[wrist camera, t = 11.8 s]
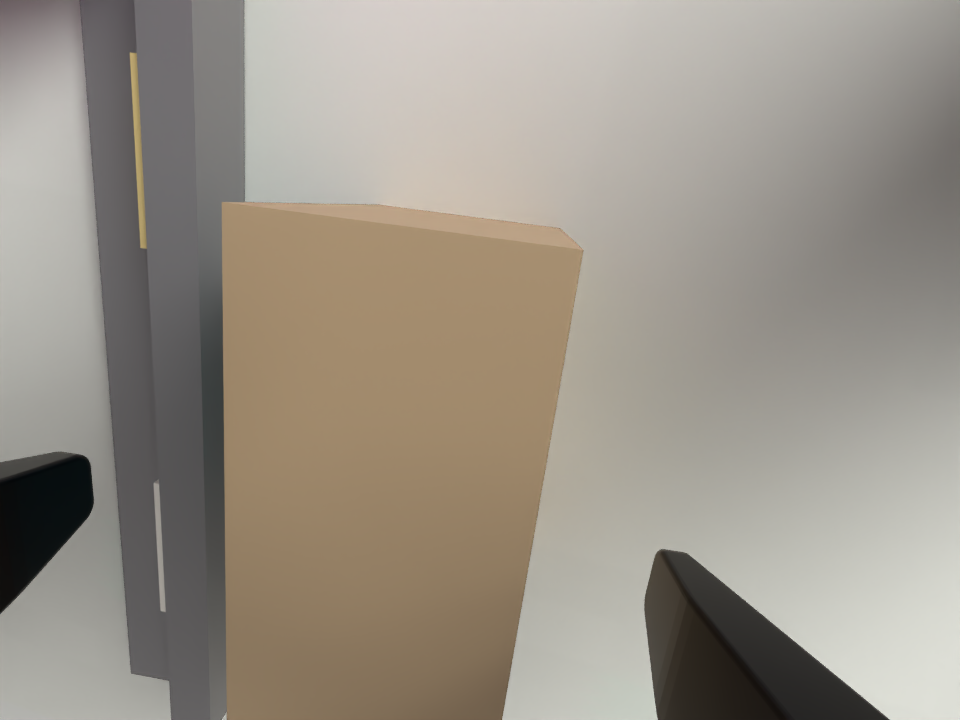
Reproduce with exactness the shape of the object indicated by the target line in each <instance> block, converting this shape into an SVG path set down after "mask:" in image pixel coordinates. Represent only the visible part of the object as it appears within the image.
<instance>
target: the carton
mask: <svg viewBox="0 0 960 720" xmlns="http://www.w3.org/2000/svg"><path fill="white" fill-rule="evenodd" d="M582 255H583V249H582V248H581V247H580V246H579V245H578V244H577V243H576V242H574V241H573V240H572V239H571V238H570V237H569V236H568V235H567V234H566V233H565V232H564V231H563V230H561V229H560V228H553V227H546V226H538V225H530V224H522V223H515V222H507V221H499V220H492V219H484V218H476V217H469V216H461V215H453V214H446V213H438V212H430V211H423V210H415V209H407V208H400V207H392V206H384V205H367V204H311V203H254V202H222V286H223V386H224V487H225V587H226V687H227V720H502V716H503V711H504V705H505V699H506V693H507V688H508V682H509V676H510V670H511V664H512V659H513V653H514V647H515V641H516V636H517V630H518V624H519V618H520V613H521V607H522V601H523V595H524V589H525V584H526V578H527V572H528V566H529V561H530V555H531V549H532V543H533V538H534V532H535V526H536V520H537V515H538V509H539V503H540V497H541V491H542V486H543V480H544V474H545V468H546V463H547V457H548V451H549V445H550V440H551V434H552V428H553V422H554V416H555V411H556V405H557V399H558V393H559V388H560V382H561V376H562V370H563V365H564V359H565V353H566V347H567V342H568V336H569V330H570V324H571V318H572V313H573V307H574V301H575V295H576V290H577V284H578V278H579V272H580V267H581V261H582Z"/></svg>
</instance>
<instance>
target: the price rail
mask: <svg viewBox="0 0 960 720" xmlns="http://www.w3.org/2000/svg"><path fill="white" fill-rule="evenodd" d="M80 10H81V23H82V36H83V49H84V62H85V75H86V88H87V101H88V114H89V128H90V141H91V154H92V167H93V180H94V193H95V206H96V219H97V232H98V245H99V259H100V272H101V285H102V298H103V311H104V324H105V337H106V350H107V363H108V377H109V390H110V403H111V416H112V429H113V442H114V455H115V468H116V481H117V495H118V508H119V521H120V534H121V547H122V560H123V573H124V586H125V599H126V613H127V626H128V639H129V652H130V665H131V674H137V675H142V676H147V677H153V678H158V679H163V680H169V684H170V703H171V720H222V718H223V717H224V715H225V713H226V712H227V687H226V587H225V487H224V386H223V286H222V202H245V176H244V0H80Z"/></svg>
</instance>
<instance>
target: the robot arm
mask: <svg viewBox="0 0 960 720" xmlns="http://www.w3.org/2000/svg"><path fill="white" fill-rule="evenodd" d="M93 504H94V497H93V486H92V474H91V465H90V462H89V460H88V459H87V458H86V457H85V456H83V455H79V454H73V453H67V452H53V453H48V454H42V455H37V456H32V457H26V458H21V459H16V460H11V461H5V462H0V614H1V613H2V612H3V611H4V610H5V609H6V608H7V607H8V606H9V605H10V604H11V603H12V602H13V601H14V600H15V599H16V598H17V597H18V596H19V595H20V594H21V592H22V591H23V590H24V589H25V588H26V587H27V586H28V585H29V584H30V583H31V581H32V580H33V579H34V578H35V577H36V576H37V575H38V574H39V572H40V571H41V570H42V569H43V568H44V567H45V566H46V564H47V563H48V562H49V561H50V560H51V559H52V558H53V557H54V555H55V554H56V553H57V552H58V551H59V550H60V549H61V547H62V546H63V545H64V544H65V543H66V542H67V541H68V540H69V538H70V537H71V536H72V535H73V534H74V533H75V532H76V530H77V529H78V528H79V527H80V526H81V525H82V524H83V523H84V521H85V520H86V519H87V518H88V517H89V515H90V513H91V511H92V508H93ZM644 610H645V620H646V628H647V637H648V646H649V654H650V663H651V671H652V680H653V689H654V697H655V704H656V712H657V717H658V720H890V719H888V718H887V717H886V716H885V715H883V714H882V713H881V712H880V711H879V710H877V709H876V708H875V707H874V706H873V705H871V704H870V703H869V702H868V701H866V700H865V699H864V698H863V697H862V696H860V695H859V694H858V693H857V692H855V691H854V690H853V689H852V688H851V687H849V686H848V685H847V684H846V683H844V682H843V681H842V680H841V679H840V678H838V677H837V676H836V675H835V674H834V673H832V672H831V671H830V670H829V669H827V668H826V667H825V666H824V665H823V664H821V663H820V662H819V661H818V660H816V659H815V658H814V657H813V656H812V655H810V654H809V653H808V652H807V651H805V650H804V649H803V648H802V647H801V646H799V645H798V644H797V643H796V642H794V641H793V640H792V639H791V638H790V637H788V636H787V635H786V634H785V633H784V632H782V631H781V630H780V629H779V628H777V627H776V626H775V625H774V624H773V623H771V622H770V621H769V620H768V619H766V618H765V617H764V616H763V615H762V614H760V613H759V612H758V611H757V610H755V609H754V608H753V607H752V606H751V605H749V604H748V603H747V602H746V601H744V600H743V599H742V598H741V597H740V596H738V595H737V594H736V593H735V592H734V591H732V590H731V589H730V588H729V587H727V586H726V585H725V584H724V583H723V582H721V581H720V580H719V579H718V578H716V577H715V576H714V575H713V574H712V573H710V572H709V571H708V570H707V569H705V568H704V567H703V566H702V565H701V564H699V563H698V562H697V561H696V560H695V559H693V558H692V557H691V556H690V555H688V554H687V553H684V552H678V551H672V550H666V549H661V550H659V551H658V552H657V553H656V555H655V558H654V562H653V566H652V570H651V574H650V578H649V582H648V586H647V590H646V595H645V604H644Z"/></svg>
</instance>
